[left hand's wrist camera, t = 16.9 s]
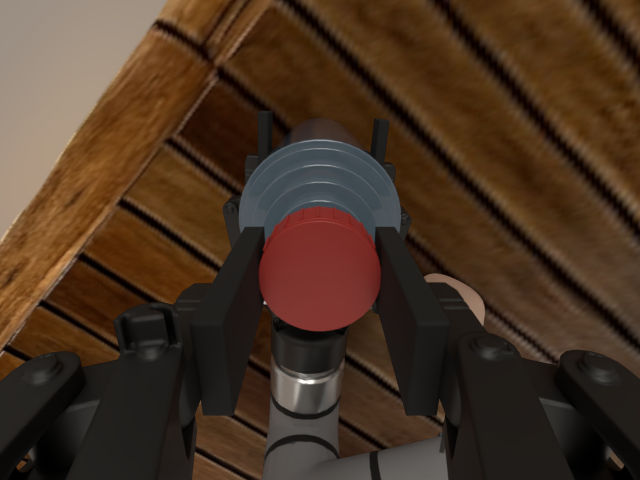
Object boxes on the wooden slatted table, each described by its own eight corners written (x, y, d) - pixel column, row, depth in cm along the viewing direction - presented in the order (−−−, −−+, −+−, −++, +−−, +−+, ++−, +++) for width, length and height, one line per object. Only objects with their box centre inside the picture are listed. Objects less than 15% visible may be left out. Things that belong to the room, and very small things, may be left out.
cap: (246, 282, 15) (237, 305, 13) (291, 184, 13) (287, 197, 12) (343, 322, 16) (346, 349, 14) (397, 234, 14) (407, 252, 13)
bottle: (292, 105, 35) (237, 121, 11) (374, 135, 36) (476, 205, 12) (268, 187, 37) (184, 332, 14) (344, 212, 38) (381, 387, 15)
